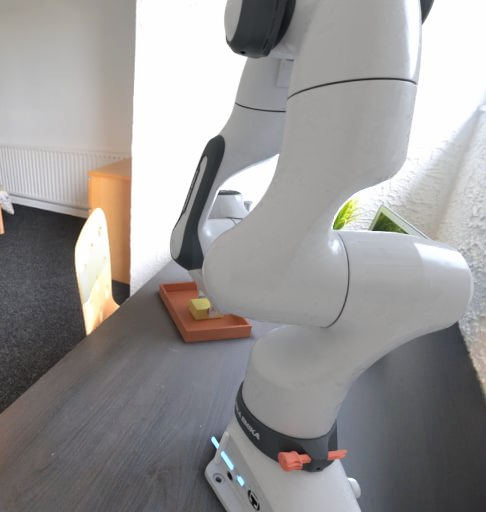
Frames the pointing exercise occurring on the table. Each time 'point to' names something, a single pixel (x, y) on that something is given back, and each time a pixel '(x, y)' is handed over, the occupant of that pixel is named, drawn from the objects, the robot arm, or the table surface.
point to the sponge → (201, 309)
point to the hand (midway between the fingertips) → (206, 308)
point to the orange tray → (202, 329)
